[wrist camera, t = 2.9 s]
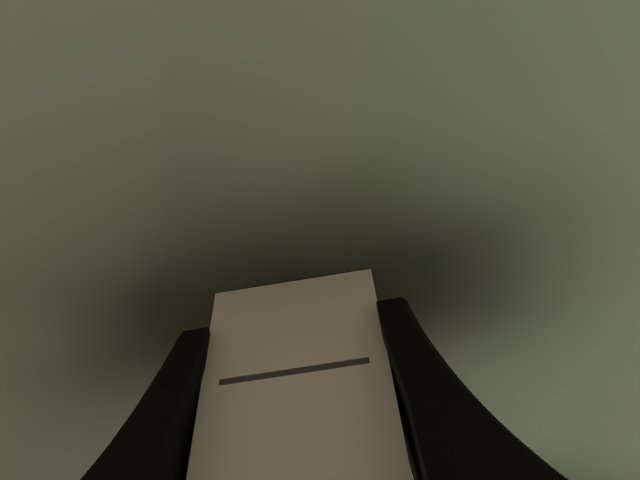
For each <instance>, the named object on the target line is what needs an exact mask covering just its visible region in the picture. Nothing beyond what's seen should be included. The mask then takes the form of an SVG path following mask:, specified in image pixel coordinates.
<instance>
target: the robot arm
mask: <svg viewBox="0 0 640 480" xmlns="http://www.w3.org/2000/svg"><path fill="white" fill-rule="evenodd" d="M376 305H377V311H378V316H379V321H380V326H381V332H382V337H383V341H384V344H385V347H386V350H387V353H388V358H389V363H390V368H391V373H392V378H393V383H394V388H395V393H396V399H397V404H398V409H399V414H400V419H401V424H402V429H403V434H404V439H405V444H406V449H407V454H408V459H409V464H410V467H411V471H412V474H413V478H414V480H568V479H567V478H565V477H564V476H563V475H561V474H560V473H559V472H558V471H556V470H555V469H554V468H552V467H551V466H550V465H549V464H547V463H546V462H545V461H544V460H543V459H541V458H540V457H539V456H538V455H537V454H535V453H534V452H533V451H532V450H531V449H530V448H528V447H527V446H526V445H525V444H524V443H522V442H521V441H520V440H519V439H518V438H517V437H515V436H514V435H513V434H512V433H511V432H510V431H509V430H508V429H507V428H506V427H505V426H504V425H503V424H502V423H500V422H499V421H498V420H497V419H496V418H495V417H494V416H493V415H492V414H491V413H490V412H489V411H488V410H487V409H486V408H485V407H484V406H483V405H482V404H481V402H480V401H479V400H478V399H477V398H476V397H475V396H474V395H473V394H472V393H471V392H470V390H469V389H468V388H467V387H466V386H465V385H464V384H463V382H462V381H461V380H460V379H459V378H458V377H457V375H456V374H455V373H454V372H453V370H452V369H451V368H450V367H449V365H448V364H447V363H446V362H445V360H444V359H443V358H442V356H441V355H440V354H439V352H438V351H437V350H436V348H435V347H434V346H433V344H432V343H431V341H430V340H429V338H428V337H427V335H426V334H425V332H424V331H423V329H422V328H421V326H420V324H419V323H418V321H417V319H416V318H415V316H414V314H413V312H412V310H411V308H410V306H409V304H408V302H407V300H405V299H404V298H402V297H400V298H394V299H388V300H381V301H376ZM209 340H210V331H209V329H208V327H207V328H201V329H194V330H188V331H183V332H182V334H181V335H180V336H179V338H178V340H177V341H176V343H175V345H174V347H173V348H172V350H171V352H170V353H169V355H168V357H167V358H166V360H165V362H164V363H163V365H162V367H161V368H160V370H159V372H158V373H157V375H156V377H155V378H154V380H153V381H152V383H151V384H150V386H149V388H148V389H147V391H146V392H145V394H144V395H143V397H142V398H141V400H140V402H139V403H138V405H137V406H136V408H135V409H134V411H133V412H132V413H131V415H130V416H129V418H128V419H127V420H126V422H125V423H124V425H123V426H122V427H121V429H120V430H119V432H118V433H117V434H116V436H115V437H114V439H113V440H112V441H111V443H110V444H109V445H108V446H107V448H106V449H105V450H104V452H103V453H102V454H101V455H100V457H99V458H98V459H97V460H96V462H95V463H94V464H93V465H92V466H91V468H90V469H89V470H88V471H87V472H86V474H85V475H84V476H83V477H82V478H81V479H80V480H186V477H187V470H188V464H189V458H190V451H191V445H192V439H193V432H194V426H195V420H196V413H197V407H198V401H199V394H200V388H201V382H202V377H203V373H204V369H205V365H206V359H207V353H208V346H209Z"/></svg>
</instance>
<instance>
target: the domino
mask: <svg viewBox="0 0 640 480" xmlns="http://www.w3.org/2000/svg"><path fill="white" fill-rule="evenodd" d="M376 301H377V297H376V292H375V287H374V282H373V277H372V272H371V269H366V270H360V271H354V272H347V273H341V274H335V275H328V276H322V277H316V278H309V279H303V280H297V281H290V282H284V283H278V284H272V285H265V286H259V287H253V288H246V289H240V290H234V291H227V292H221V293H215V299H214V306H213V312H212V318H211V325H210V340H209V346H208V353H207V359H206V365H205V369H204V373H203V377H202V382H201V388H200V394H199V401H198V407H197V413H196V420H195V426H194V432H193V439H192V445H191V451H190V458H189V464H188V470H187V477H186V480H412V475H411V470H410V465H409V459H408V454H407V449H406V444H405V439H404V434H403V429H402V424H401V419H400V414H399V409H398V404H397V399H396V393H395V388H394V383H393V378H392V373H391V368H390V363H389V358H388V353H387V350H386V347H385V344H384V341H383V337H382V332H381V326H380V321H379V316H378V311H377V305H376Z"/></svg>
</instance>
